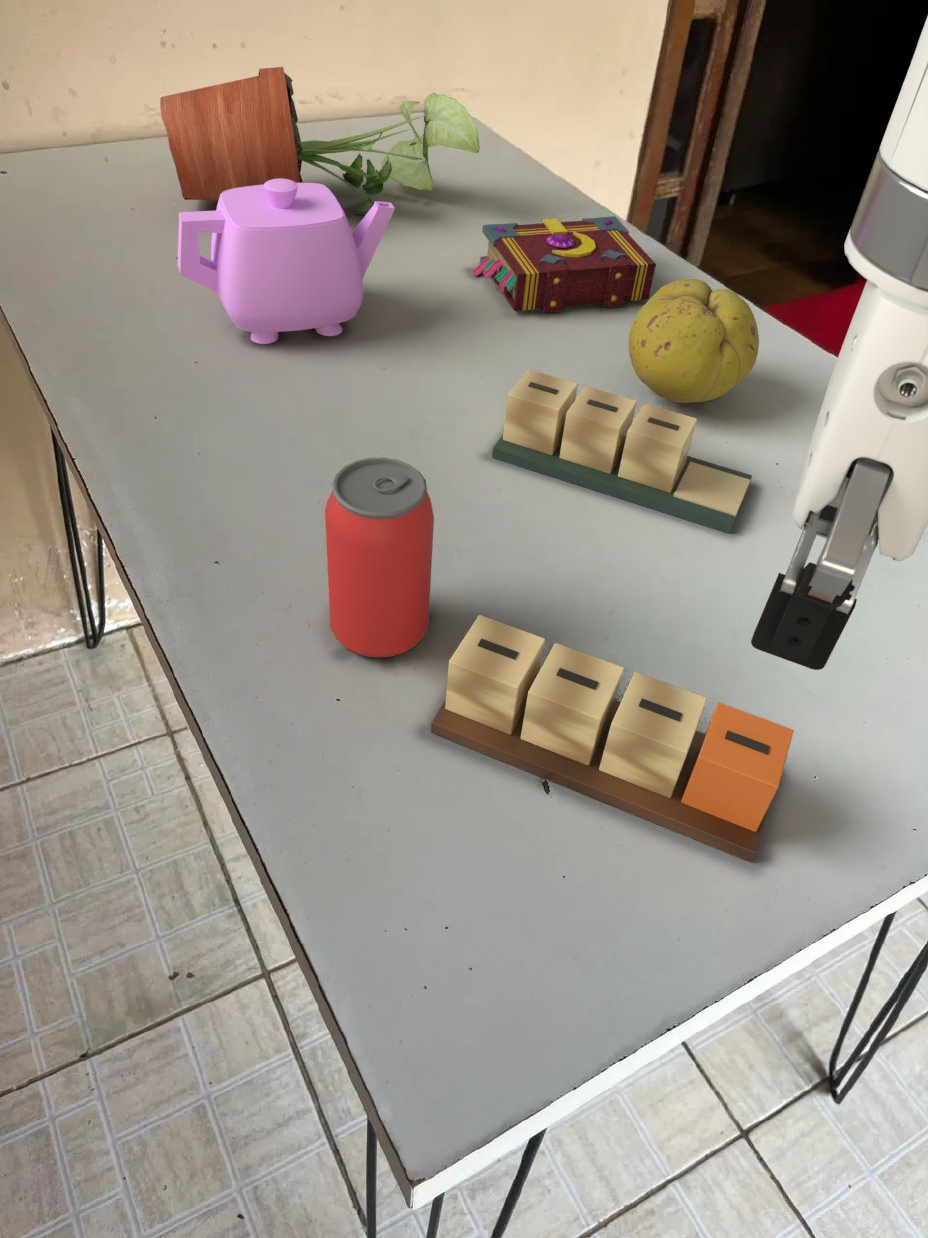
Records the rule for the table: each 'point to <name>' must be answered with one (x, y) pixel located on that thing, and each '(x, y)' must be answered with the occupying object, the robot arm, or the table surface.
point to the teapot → (282, 256)
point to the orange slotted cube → (738, 767)
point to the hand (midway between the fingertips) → (806, 587)
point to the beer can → (379, 556)
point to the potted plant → (292, 139)
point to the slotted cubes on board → (582, 728)
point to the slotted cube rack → (617, 450)
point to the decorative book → (566, 264)
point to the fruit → (693, 341)
